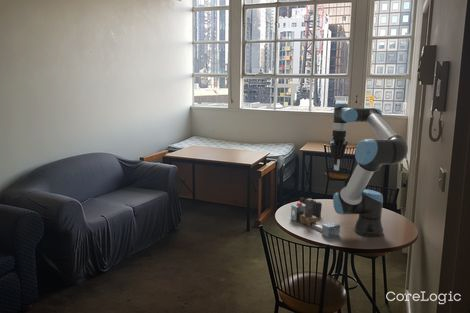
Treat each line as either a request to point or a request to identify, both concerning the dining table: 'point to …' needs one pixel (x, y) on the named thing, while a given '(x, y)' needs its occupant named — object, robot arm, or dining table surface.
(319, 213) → the camera
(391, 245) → the dining table surface
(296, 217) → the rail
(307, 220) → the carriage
